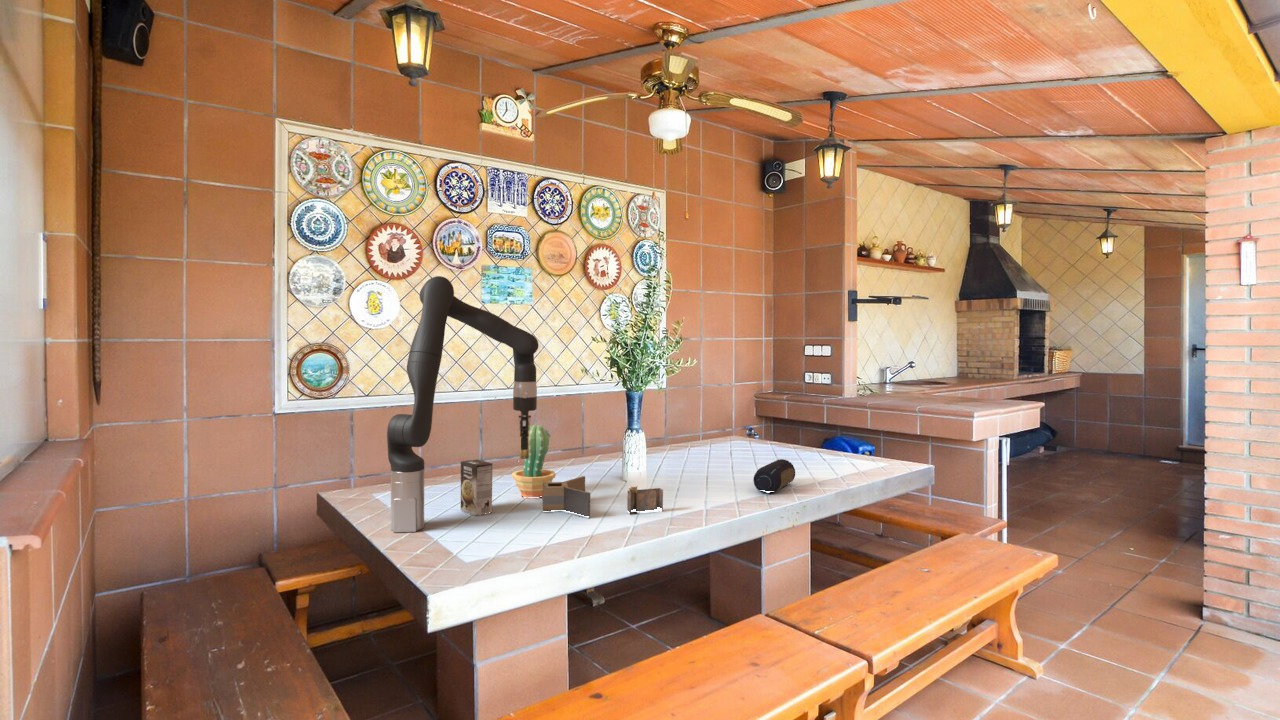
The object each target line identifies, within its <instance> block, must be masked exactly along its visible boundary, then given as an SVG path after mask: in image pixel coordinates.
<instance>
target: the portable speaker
mask: <svg viewBox="0 0 1280 720" xmlns="http://www.w3.org/2000/svg"><path fill="white" fill-rule="evenodd" d="M795 477H796V469H795V467H794V464H793V463H792V462H790V461H789V460H787V459H776V460H774V461H772V462H770V463H768V464H766V465H764V466H763V465H762V467H759V468H758V469H757V471H756V472H755V474H754V475H753V480H752V481H753V485H754V487H755V488H756V489H757V491H759V490H765V491H776V490H777V491H779V490H780V489H783V488H784V487H786V486H787V485H789V484H790V482H791V483H792V482H793V481H794V480H795ZM788 483H789V484H788ZM785 485H786V486H785ZM783 486H784V487H783ZM778 489H779V490H778ZM777 491H776V492H777Z"/></svg>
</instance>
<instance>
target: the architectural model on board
mask: <svg viewBox="0 0 1280 720" xmlns="http://www.w3.org/2000/svg"><path fill="white" fill-rule="evenodd" d="M626 504H627V505H626V506H627V507H626V508H627V510H628V511H629V512H631V510H633V509H636V511H645V510H654V509H657V507H660V508H662V509H663V510H664V489H663V488H661V487H659V488H658V487H654V488H644V489H638V485H636V486H630V487H629V488H628V490H627V503H626ZM627 510H626V511H627Z"/></svg>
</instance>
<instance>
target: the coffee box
mask: <svg viewBox="0 0 1280 720" xmlns="http://www.w3.org/2000/svg"><path fill="white" fill-rule="evenodd" d="M493 465H494V464H493V462H492V463H491V462H489V461H488V462H487V461H484V460H481V459H473V460H472V459H469V460H468V459H467V460H461V461H460V511H461V510H462V511H461V512H463V511H464V512H463V513H465V512H467V513H466V514H468V513H470V514H469V515H471V514H473V515H472V516H474V515H479V516H482V515H481V514H484V515H486V514H485V513H489V512H492V513H493V468H494V467H493ZM489 514H490V513H489Z"/></svg>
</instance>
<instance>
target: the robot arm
mask: <svg viewBox="0 0 1280 720" xmlns="http://www.w3.org/2000/svg"><path fill="white" fill-rule="evenodd" d="M419 301H420V302H421V304H422V309H421V317H420V319H419V323H418V326H417V328H416V331H415V333H414V336H413V338H412V342H411V345H410V348H409V353H408V358H407V364H406V375H407V376H408V380H409V383H410V386H411V389H412V391H413V397H414V400H413V401H414V402H413V409H412V413H411V414H410V413H409V414H408V413H398V414H397V413H396V414H395V415H393V416H392V417H391V418H390V420H389V422H388V424H387V428H386V429H387V430H386V441H387V442H386V443H387V457H388V462H389V464H390V530H391V531H393V533H414V532H415V533H416V532H417V531H420V530H421V529H424V527H425V459H424V458H423V457H421V456H420V455H418V454H417V453H415V452H414V450H413V448H421V447H423V446H425V445H426V444H427V442H428V440H429V439H430V436H431V432H432V426H433V425H432V424H433V414H434V413H433V412H434V401H435V400H434V399H435V393H436V387H437V381H438V378H439V377H438V376H439V371H440V367H441V362H442V356H443V349H444V341H445V334H446V333H445V332H446V331H445V330H446V324H447V320H448V317H449V318H451V319H454V320H456V321H458V322H459V323H462V324H465V325H467V326H469V327H470V328H472V329H474V330H476V331H478V332H480V333H481V334H483V335H485V336H487V337H489V338H491V339H492V340H494V341H497V342H498V343H500V344H504V345H506V346H507V347H509V348H510V349H512V356H513V363H514V371H513V373H514V374H513V380H514V381H513V389H512V390H513V393H512V400H513V401H512V402H513V403H512V410H513V411H516V412H520V415H518V417H517V418H518V420H517V421H518V431H519V438H520V437H521V449H522V450H527V449H528V437H529V434H528V431H529V430H530V426H531V421H532V415H529V413H530V412H532V411H534V412H535V411H536V410H537V407H538V405H537V404H538V400H537V399H538V397H537V396H538V385H537V367H536V364H535V355H534V354H536V352H537V351H538V349H539V341H538V339H537V337H536V336H535V335H534V334H532V333H530V332H528V331H526V330H524V329H523V328H520V327H517V326H515V325H514V324H512V323H510V322H508V321H507V320H505V319H504V318H502V317H500V316H498V315H497V314H495V313H492V312H490V311H488V310H485V309H482V308H478V307H476V306H473V305H471V304H469V303H467V302H465V301H462V299H461V300H460V298H458V297H457V296H455V290H454V286H453V284H452V282H451V281H450V280H449V279H448V278H446V277H445V276H442V275H441V276H440V275H438V276H434V277H431V278H429V279H428V280H427V281H426V282H425V283H424V284H423V286H422V287H421V288H420V291H419ZM522 431H527V433H522Z"/></svg>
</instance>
